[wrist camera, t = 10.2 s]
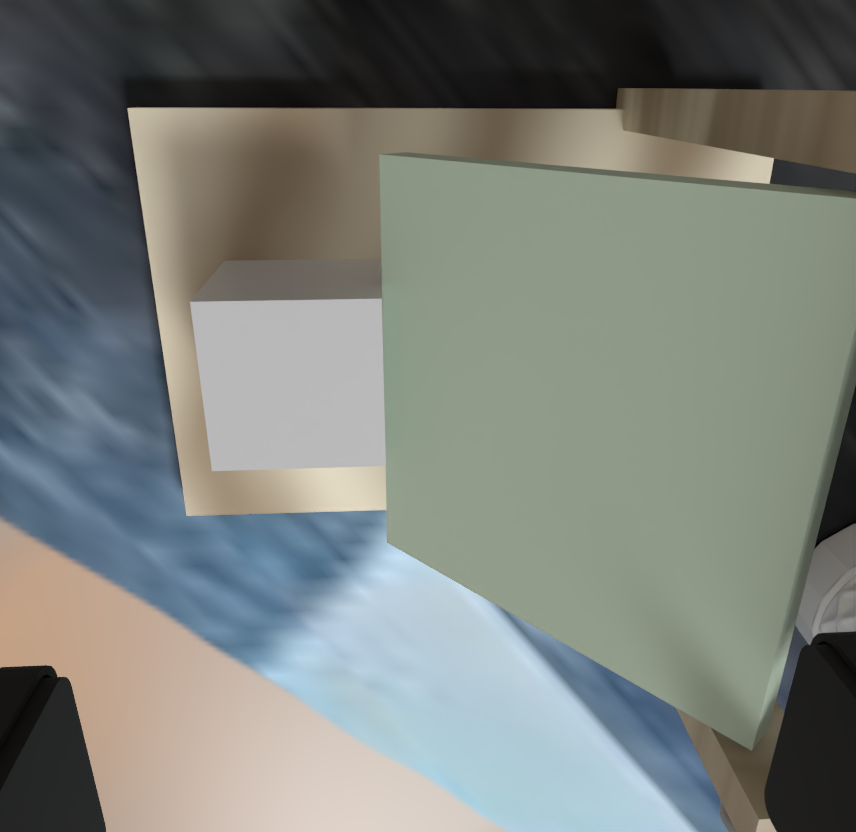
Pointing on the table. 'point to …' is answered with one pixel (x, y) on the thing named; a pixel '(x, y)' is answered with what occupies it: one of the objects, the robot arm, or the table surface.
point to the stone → (292, 364)
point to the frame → (361, 239)
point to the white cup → (830, 587)
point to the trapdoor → (620, 407)
